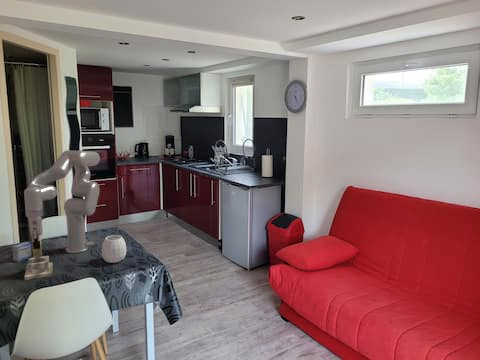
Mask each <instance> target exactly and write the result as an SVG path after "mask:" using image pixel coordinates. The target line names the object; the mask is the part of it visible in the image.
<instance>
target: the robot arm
mask: <svg viewBox="0 0 480 360" xmlns="http://www.w3.org/2000/svg"><path fill="white" fill-rule="evenodd" d="M100 160H101V157H100V154H99V153H98V152H96V151H93V150H69V149H67V150H65V151H63V152H62V153H61V154H60V155H59V156H58V158H57V160H55V162H54V163H53V165H52V166H51V167H50V168H49V169H46V170H44V171H43V172H40V173H39V174H37V175H36V176H35V177H34V178H33V179H32V181H31V182H30V183H29V184H28V186H27V188H26V189H24V191H23V194H24V195H23V196H24V198H23V199H24V206H25V207H24V208H25V217H26V218H28V223H29V224H28V225H29V232H30V236H33V249H40V241H39V235H41V236H42V235H43V220H42V216H44V208H43V207H44V205H43V203H44V201H51V200H53V199H55V198H56V197H57V195H58V189H57V188H56V187H55V186H54V185H50V184H49V183H52V182H56V181H59V180H61V179H64V178H66V177H67V176H68V174H69V172H70V171H71V170H72V168H73V167H74V171H75V172H74V177H73V182H72V184H71V189H70V190H71V193H70V194H72V196H75V197H71V198H70V197H69V198H68V199H67V200H65V202H64V203H63V210H64V213H65V218H66V226H67V227H66V228H67V242H68V246H67V247H66V248H65V252H66V253H68V254H80V253H83V252H87V251H88V250H89V248H90V246H95V242H94V241H87V239H86V224H85V218H84V216H88V217H89V216H92V215H94V213H95V211H96V209H97V205H98V199H99V196H100V185H99V184H98V182H95V181H90V179H91V171H90V168H89V167H93V166H94V167H95V166H97V165H98V164H99V163H100ZM77 197H78V198H77ZM79 197H81V198H79ZM37 234H38V235H37Z"/></svg>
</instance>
